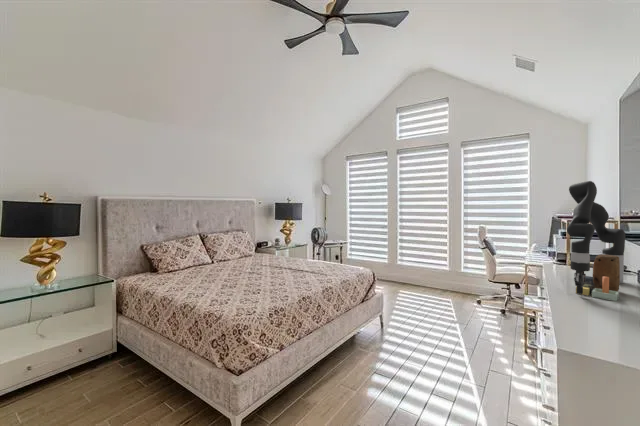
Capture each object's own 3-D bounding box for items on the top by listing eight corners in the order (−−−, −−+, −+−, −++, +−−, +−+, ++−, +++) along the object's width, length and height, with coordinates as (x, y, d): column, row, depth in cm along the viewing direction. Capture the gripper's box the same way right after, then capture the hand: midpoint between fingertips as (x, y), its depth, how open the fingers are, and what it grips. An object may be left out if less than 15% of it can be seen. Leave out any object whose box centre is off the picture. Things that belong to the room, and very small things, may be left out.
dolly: (580, 288, 162) (580, 274, 162) (594, 290, 158) (594, 276, 157) (576, 291, 157) (576, 277, 156) (591, 294, 152) (591, 279, 152)
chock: (577, 292, 156) (577, 285, 156) (589, 294, 152) (589, 288, 152) (575, 293, 154) (575, 287, 154) (588, 295, 150) (588, 289, 150)
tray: (595, 293, 153) (595, 287, 153) (619, 297, 146) (619, 291, 146) (591, 296, 148) (591, 291, 148) (616, 301, 140) (616, 295, 140)
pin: (602, 295, 148) (603, 276, 148) (609, 296, 146) (609, 277, 146) (601, 295, 147) (602, 277, 147) (608, 297, 145) (608, 277, 145)
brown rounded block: (620, 291, 156) (620, 255, 156) (618, 294, 152) (619, 257, 151) (593, 287, 165) (593, 253, 164) (591, 289, 160) (591, 254, 160)
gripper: (573, 258, 155) (573, 289, 155) (567, 261, 147) (567, 294, 147) (592, 260, 149) (591, 292, 149) (587, 263, 141) (586, 297, 141)
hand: (579, 293), depth 148 cm, fingers closed
